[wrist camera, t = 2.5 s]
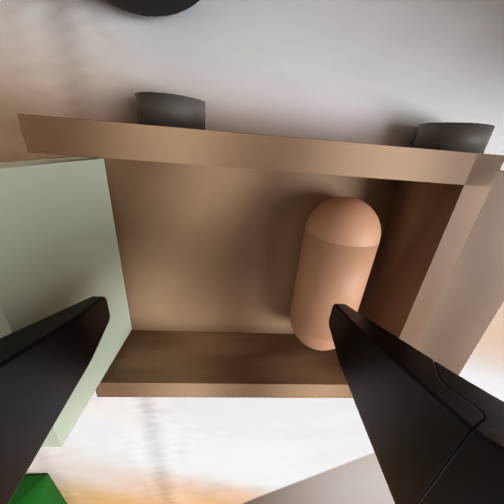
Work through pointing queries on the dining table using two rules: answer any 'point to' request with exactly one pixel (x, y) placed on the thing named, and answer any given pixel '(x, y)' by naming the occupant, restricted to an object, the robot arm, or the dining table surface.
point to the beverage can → (154, 6)
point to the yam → (332, 266)
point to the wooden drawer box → (281, 245)
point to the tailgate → (61, 259)
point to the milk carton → (37, 491)
